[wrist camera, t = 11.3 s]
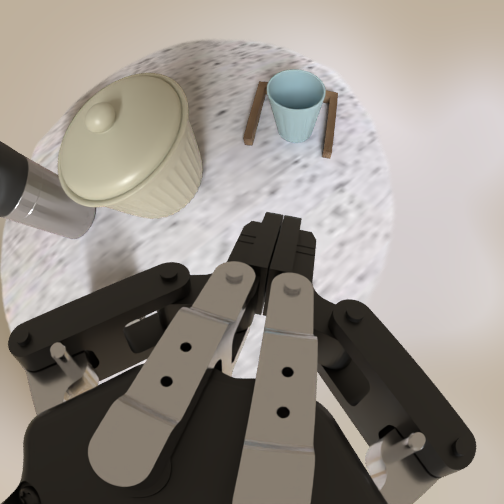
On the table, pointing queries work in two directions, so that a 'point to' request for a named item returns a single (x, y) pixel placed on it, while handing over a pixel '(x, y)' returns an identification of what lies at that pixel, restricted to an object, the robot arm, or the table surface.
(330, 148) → the walnut bay
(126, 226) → the table surface
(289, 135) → the cup
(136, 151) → the canister
